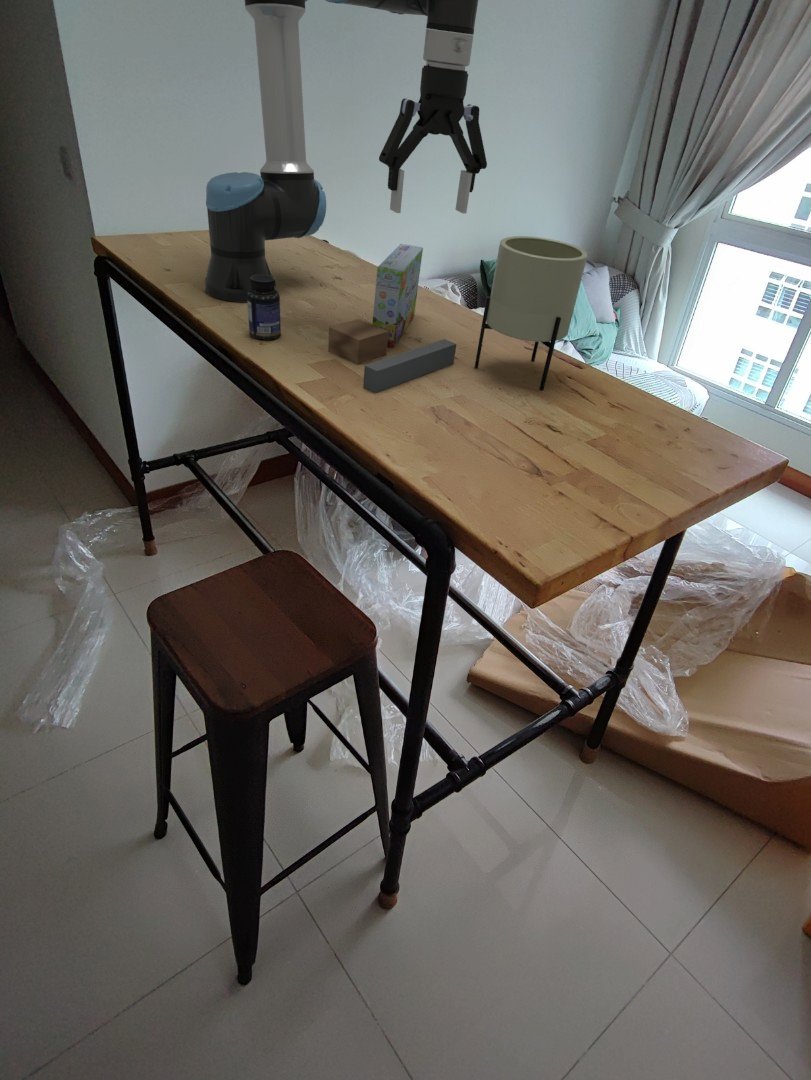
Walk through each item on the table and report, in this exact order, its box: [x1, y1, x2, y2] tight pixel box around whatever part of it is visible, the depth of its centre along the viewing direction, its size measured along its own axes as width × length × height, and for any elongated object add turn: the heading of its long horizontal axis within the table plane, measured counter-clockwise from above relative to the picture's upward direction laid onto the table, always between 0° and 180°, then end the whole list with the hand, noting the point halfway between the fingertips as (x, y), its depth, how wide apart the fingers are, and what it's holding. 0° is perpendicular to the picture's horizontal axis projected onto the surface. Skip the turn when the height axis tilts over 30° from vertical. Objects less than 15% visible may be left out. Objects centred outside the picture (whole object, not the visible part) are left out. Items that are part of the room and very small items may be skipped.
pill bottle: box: [247, 275, 282, 341], centre depth 124 cm, size 6×6×11 cm
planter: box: [474, 235, 588, 392], centre depth 118 cm, size 15×16×23 cm
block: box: [327, 318, 389, 366], centre depth 124 cm, size 8×8×5 cm
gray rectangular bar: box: [362, 338, 457, 393], centre depth 118 cm, size 3×22×4 cm, turn 138°
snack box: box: [371, 243, 424, 348], centre depth 133 cm, size 21×6×15 cm, turn 168°
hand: (428, 211), depth 116 cm, fingers open, 13 cm apart
